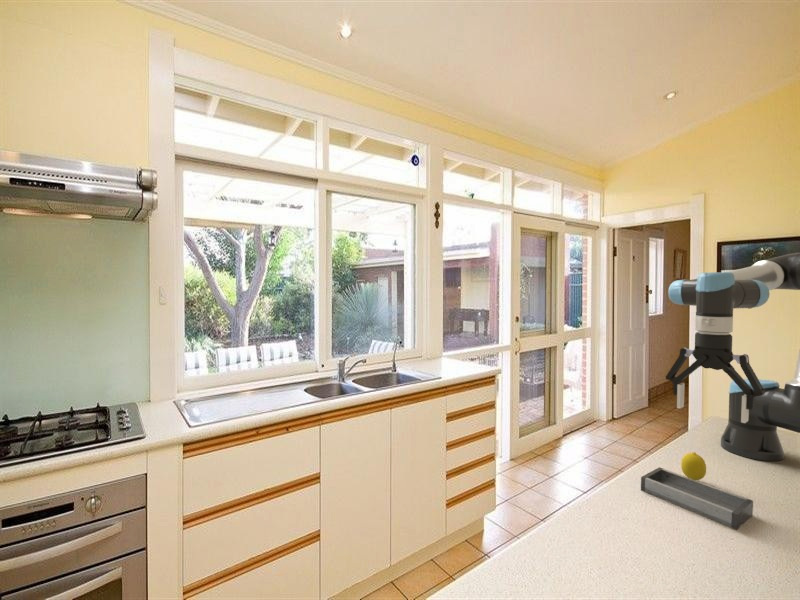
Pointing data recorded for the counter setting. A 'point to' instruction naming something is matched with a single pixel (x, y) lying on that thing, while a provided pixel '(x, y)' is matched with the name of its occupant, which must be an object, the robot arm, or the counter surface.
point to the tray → (698, 497)
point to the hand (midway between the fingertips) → (710, 414)
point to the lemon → (693, 466)
